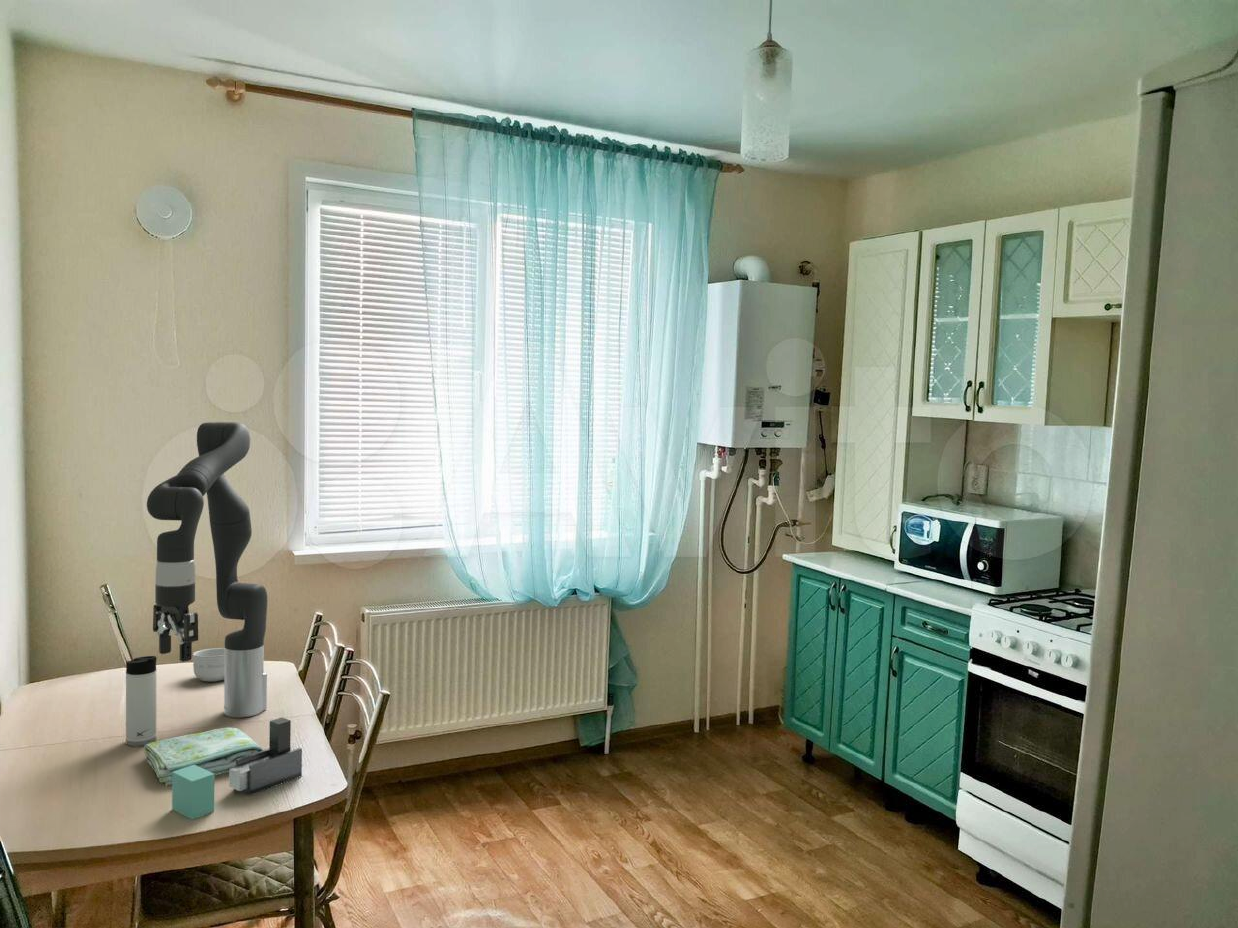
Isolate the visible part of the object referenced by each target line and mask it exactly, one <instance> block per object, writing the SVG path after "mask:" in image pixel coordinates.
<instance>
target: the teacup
mask: <svg viewBox="0 0 1238 928" xmlns="http://www.w3.org/2000/svg"><path fill="white" fill-rule="evenodd" d="M192 657H193V658H192V659H193V660H192V661H193V673H194V676H195V677H196V678H198V679H199V680H200V681H202V682H219V681H224V671H225V647H216V648H205V649H201V650H198V651H194V652H193V653H192Z"/></svg>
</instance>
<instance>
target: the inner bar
mask: <svg viewBox="0 0 1238 928" xmlns="http://www.w3.org/2000/svg"><path fill="white" fill-rule="evenodd" d="M291 724H292V723H291V720H290V719H288V718H285V717H279V718H276V719H273V720H270V721H269V742H268V743H269V756H266V757H264V758H261V759H258V760H255V761H252V762H249V763H246V764H243V765H240V766H237V767H234V768H231V769H229V772H228V775H229V776H228V778H229V779H228V780H229V781H228V786H229V788H232V789H234V790H236V791H238V792H242V791H241V790H244V789H247V788H249V777H250V768H249V765H251V764H254V763H256V762H259V761H262V760H265V759H268V758H271V757H274V756H277V755H280V754H282V753H285V752H288V751H291V750H292V749H291V735H292V734H291V730H292V729H291V727H292V726H291Z"/></svg>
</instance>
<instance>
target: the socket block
mask: <svg viewBox="0 0 1238 928" xmlns="http://www.w3.org/2000/svg"><path fill="white" fill-rule="evenodd" d="M171 785H172V786H171V789H172V790H171V797H172V798H171V799H172V800H171V810H173V811H174V812H177V813H179V814H180V815H182V816H185V817H187V818H189V819H190V820H195V819H197V818H200V817H203V816H206V815H208V814H210V813H213V812H215V775H214V773H212V772H209V771H207V770H205V769H203V768H201V767H198V766H196V765H192V766H189V767H186V768H183V769H179V770H176V771H173V772H172V784H171Z"/></svg>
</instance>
